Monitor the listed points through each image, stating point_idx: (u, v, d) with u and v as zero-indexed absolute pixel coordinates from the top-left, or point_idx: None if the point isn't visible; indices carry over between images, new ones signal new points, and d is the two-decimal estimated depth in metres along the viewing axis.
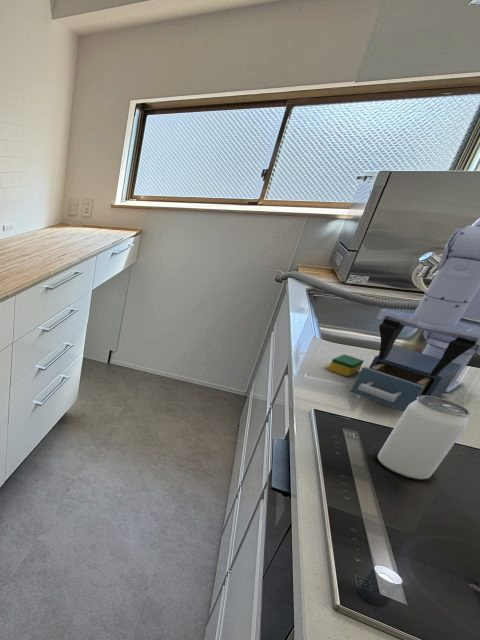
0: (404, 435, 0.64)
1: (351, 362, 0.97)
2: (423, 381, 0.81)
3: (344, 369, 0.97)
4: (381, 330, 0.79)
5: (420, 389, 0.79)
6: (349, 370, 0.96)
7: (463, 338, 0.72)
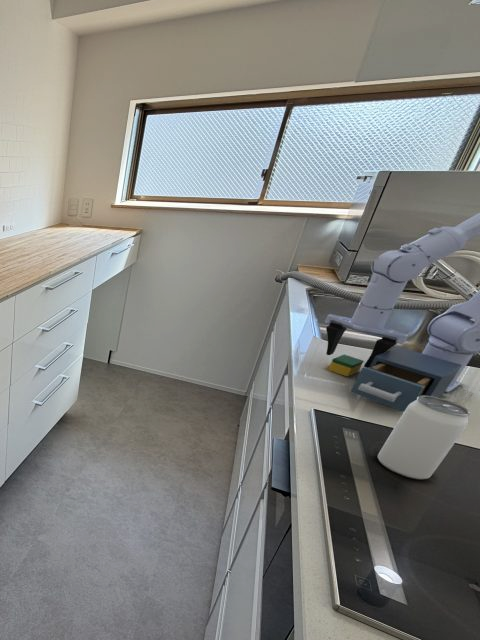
0: (404, 436, 0.64)
1: (351, 362, 0.97)
2: (423, 381, 0.81)
3: (344, 369, 0.97)
4: (327, 331, 0.99)
5: (420, 389, 0.79)
6: (349, 370, 0.96)
7: (387, 337, 0.91)
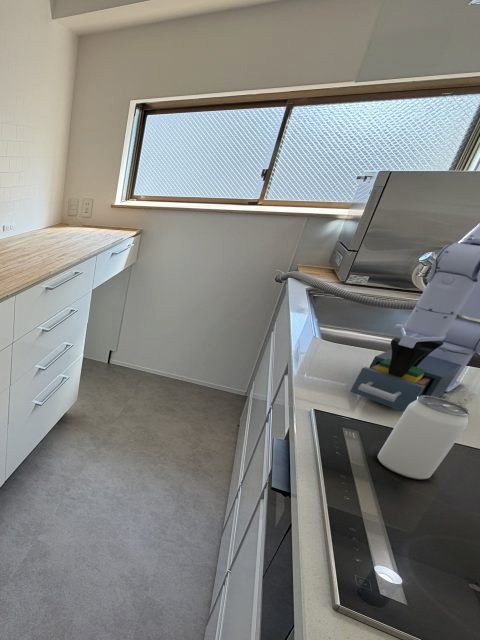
0: (404, 436, 0.64)
1: None
2: (423, 381, 0.81)
3: None
4: None
5: (420, 389, 0.79)
6: None
7: None
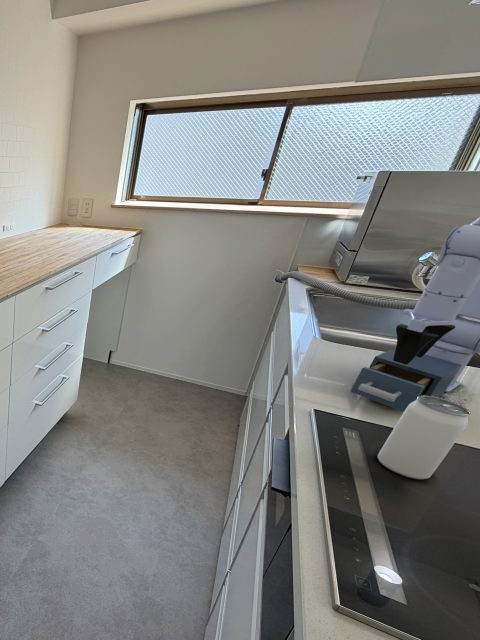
0: (404, 435, 0.64)
1: None
2: (423, 381, 0.81)
3: None
4: None
5: (420, 389, 0.79)
6: None
7: None
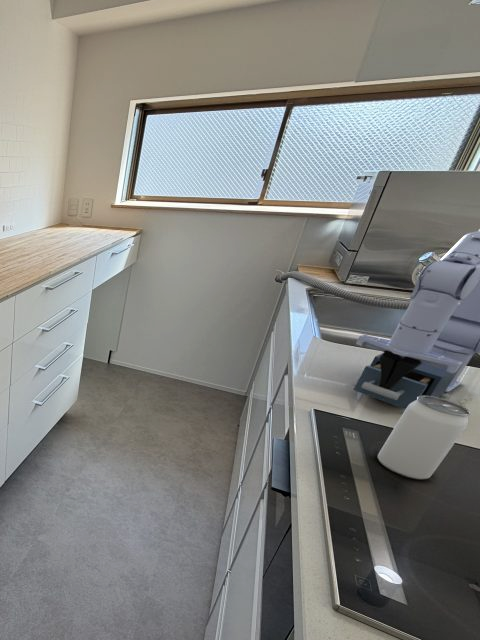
0: (404, 435, 0.64)
1: None
2: (426, 379, 0.82)
3: None
4: (381, 362, 0.81)
5: (423, 387, 0.80)
6: None
7: (410, 357, 0.79)
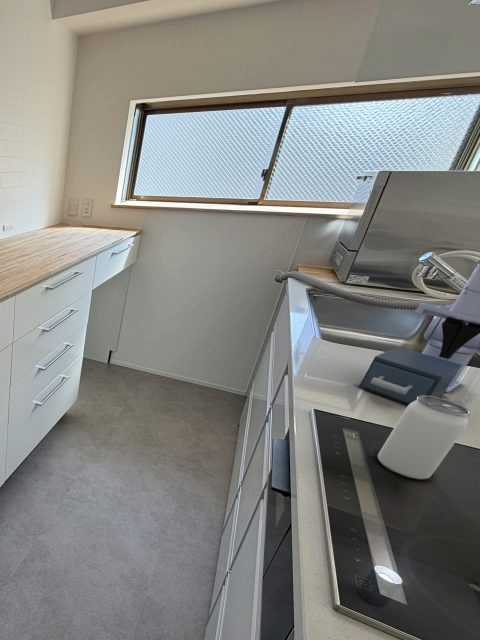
0: (404, 436, 0.64)
1: None
2: None
3: None
4: (444, 328, 0.81)
5: (431, 382, 0.82)
6: None
7: (474, 323, 0.79)
